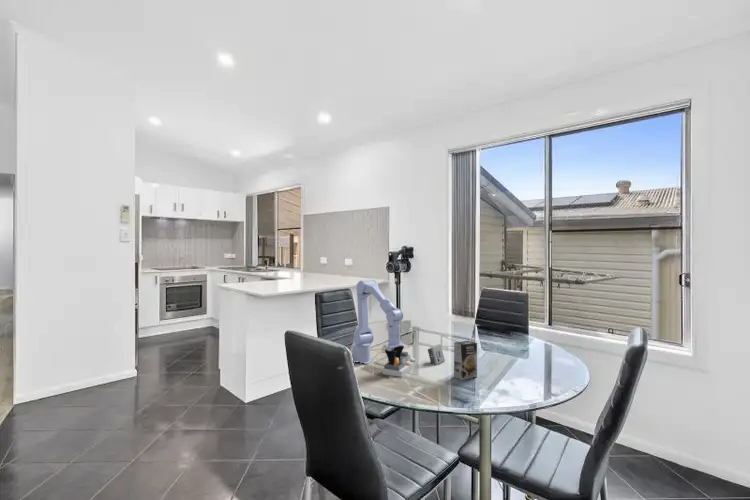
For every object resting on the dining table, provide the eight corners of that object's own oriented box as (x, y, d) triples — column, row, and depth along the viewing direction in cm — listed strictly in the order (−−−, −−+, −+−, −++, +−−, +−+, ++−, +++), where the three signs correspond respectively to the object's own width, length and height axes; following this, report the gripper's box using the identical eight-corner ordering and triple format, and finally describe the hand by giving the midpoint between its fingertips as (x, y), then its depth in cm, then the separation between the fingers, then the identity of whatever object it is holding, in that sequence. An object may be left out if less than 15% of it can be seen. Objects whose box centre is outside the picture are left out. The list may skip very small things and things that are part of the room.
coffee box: (462, 380, 167) (462, 344, 167) (453, 376, 172) (453, 342, 173) (477, 377, 171) (477, 342, 171) (468, 373, 177) (468, 340, 177)
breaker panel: (382, 374, 176) (382, 363, 176) (399, 362, 196) (399, 353, 196) (401, 376, 172) (401, 366, 172) (417, 364, 191) (417, 355, 192)
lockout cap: (389, 368, 177) (389, 357, 177) (392, 365, 181) (392, 355, 181) (397, 369, 175) (396, 358, 175) (400, 366, 179) (400, 356, 179)
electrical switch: (436, 365, 190) (435, 347, 191) (428, 364, 193) (426, 347, 194) (445, 361, 197) (443, 344, 198) (436, 361, 200) (435, 343, 201)
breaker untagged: (400, 357, 190) (400, 352, 190) (402, 356, 193) (402, 351, 193) (405, 358, 189) (405, 353, 189) (407, 356, 192) (407, 352, 192)
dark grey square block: (395, 363, 184) (395, 358, 184) (397, 361, 187) (397, 356, 187) (401, 364, 183) (401, 359, 183) (403, 362, 186) (403, 357, 186)
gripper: (396, 338, 170) (396, 367, 170) (407, 332, 183) (407, 359, 183) (382, 336, 173) (382, 365, 173) (394, 331, 186) (394, 358, 186)
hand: (394, 362), depth 178 cm, fingers open, 7 cm apart
